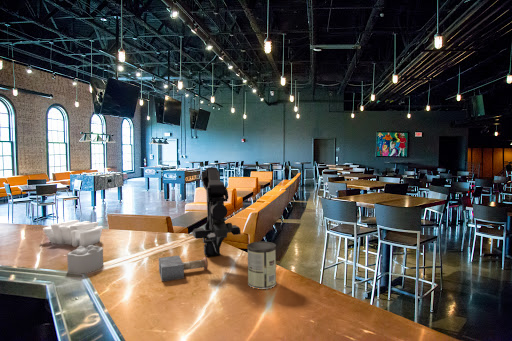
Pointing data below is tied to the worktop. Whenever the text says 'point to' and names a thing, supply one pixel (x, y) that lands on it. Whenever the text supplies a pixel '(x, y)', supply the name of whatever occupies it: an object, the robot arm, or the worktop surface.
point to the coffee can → (261, 265)
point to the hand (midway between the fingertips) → (217, 252)
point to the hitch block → (171, 268)
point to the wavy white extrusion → (74, 233)
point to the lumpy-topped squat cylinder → (85, 259)
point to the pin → (196, 264)
